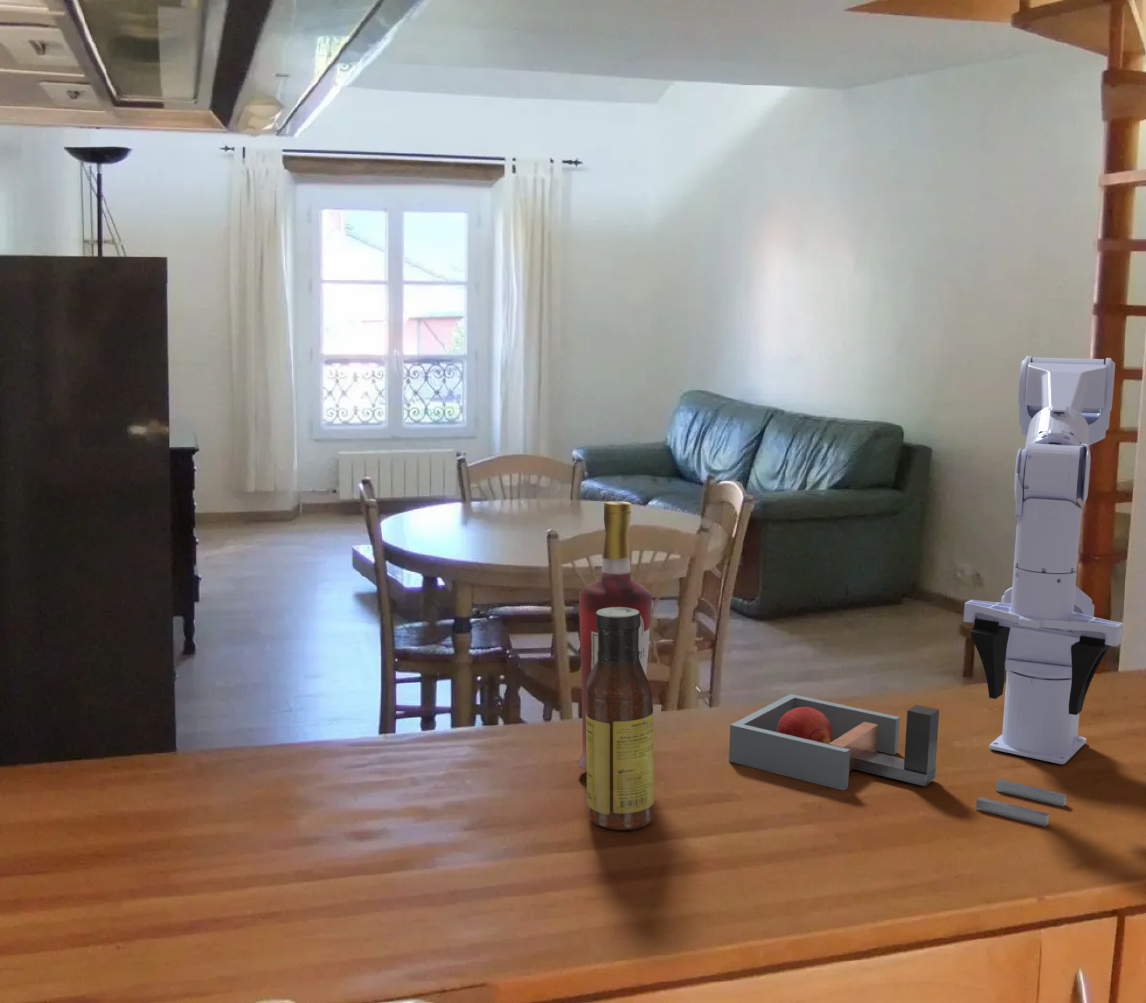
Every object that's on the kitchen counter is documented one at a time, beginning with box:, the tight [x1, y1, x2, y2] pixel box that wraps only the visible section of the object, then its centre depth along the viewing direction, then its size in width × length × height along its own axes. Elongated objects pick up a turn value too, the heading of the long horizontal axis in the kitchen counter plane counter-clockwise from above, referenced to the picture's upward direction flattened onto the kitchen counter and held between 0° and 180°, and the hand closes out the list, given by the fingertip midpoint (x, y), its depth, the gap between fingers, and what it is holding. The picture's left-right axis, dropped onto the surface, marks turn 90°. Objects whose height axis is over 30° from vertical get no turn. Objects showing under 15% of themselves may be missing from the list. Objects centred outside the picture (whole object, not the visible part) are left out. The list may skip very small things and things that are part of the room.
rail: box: [975, 778, 1067, 828], centre depth 120 cm, size 7×6×1 cm
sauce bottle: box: [586, 607, 655, 831], centre depth 113 cm, size 6×6×20 cm
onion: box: [776, 707, 833, 744], centre depth 131 cm, size 6×6×8 cm
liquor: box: [577, 500, 653, 774], centre depth 124 cm, size 7×7×28 cm
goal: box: [728, 693, 901, 791], centre depth 132 cm, size 14×13×4 cm
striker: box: [829, 704, 940, 787], centre depth 127 cm, size 9×9×7 cm
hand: (1034, 704), depth 121 cm, fingers open, 7 cm apart
